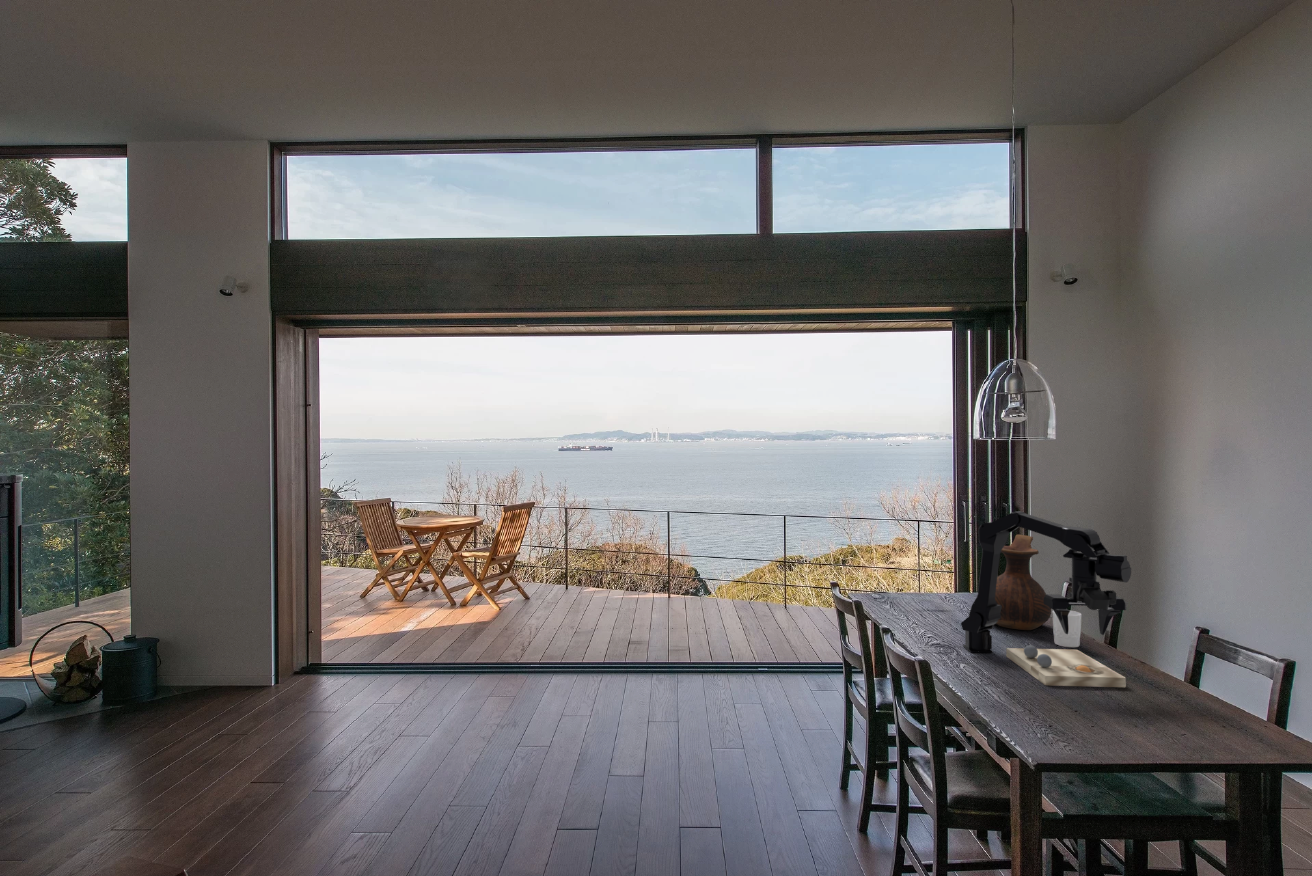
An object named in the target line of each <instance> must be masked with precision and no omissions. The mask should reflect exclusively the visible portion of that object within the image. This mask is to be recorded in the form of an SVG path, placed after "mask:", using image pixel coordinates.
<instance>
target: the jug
mask: <svg viewBox="0 0 1312 876" xmlns="http://www.w3.org/2000/svg"><path fill="white" fill-rule="evenodd" d="M1033 540H1034V537H1033V536H1030V535H1025V534H1024V535H1023V534H1016V535H1015V537H1014V539H1013V542H1012V543H1011V544H1010V545H1004V547H1003V549H1002V550H1001V552H1000V553H1002V554H1003V555H1004V557H1005V559H1006V566H1005V571H1004V572H1003V573H1002V574H1000V575H998V576H997V584H996V593H995V600H996V603H997V605H1001V606H1002V608H1001V612H1000V615H1001V618H999V620H998V622H997V623H995V625H998V626H999V627H1002V628H1007V629H1011V630H1012V629H1013V630H1021V631H1032V630H1036V629H1037V628H1040V627H1041V626H1042V625H1044V624H1045V623H1047V622H1048V621H1049V619H1051V618H1050V617H1051V616H1052V609H1051V608H1049V606H1047V605H1045V604H1044V597H1045V595H1046V594H1047V593H1046V592H1045V589H1044V588H1043V587H1042V585H1040V583H1039V582H1038V581H1036V579H1034V578H1033V577H1032V575H1031V571H1030V560H1031V559H1032V557H1033V556H1034V555H1035V556H1036V555H1038V554H1039V550H1038V549H1037V548H1036V549H1035V548H1032V542H1033Z"/></svg>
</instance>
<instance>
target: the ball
mask: <svg viewBox="0 0 1312 876" xmlns="http://www.w3.org/2000/svg"><path fill="white" fill-rule="evenodd" d="M1076 669H1077V670H1079V671H1083V672H1091V671H1090V669H1089V668H1088V667H1086V666H1084V665H1080V666H1078V667H1077V668H1076Z"/></svg>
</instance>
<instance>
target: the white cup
mask: <svg viewBox="0 0 1312 876" xmlns="http://www.w3.org/2000/svg"><path fill="white" fill-rule="evenodd" d="M1068 610H1069V609H1068ZM1069 611H1070V612H1069V614H1068V627H1069V630H1068V634H1065V633H1064V630H1063V628H1062V626H1061V624H1060V621H1059V619H1058V617H1057V615H1056V614H1055V612H1054V610H1053V609H1052V610H1051V616H1052V629H1053V630H1052V631H1053V640H1054V644H1055V645H1058V646H1060V647H1065V648H1078V647H1080V643H1081V641H1080V638H1081V631H1082V613H1081V612H1078V611H1075V610H1069Z"/></svg>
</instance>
